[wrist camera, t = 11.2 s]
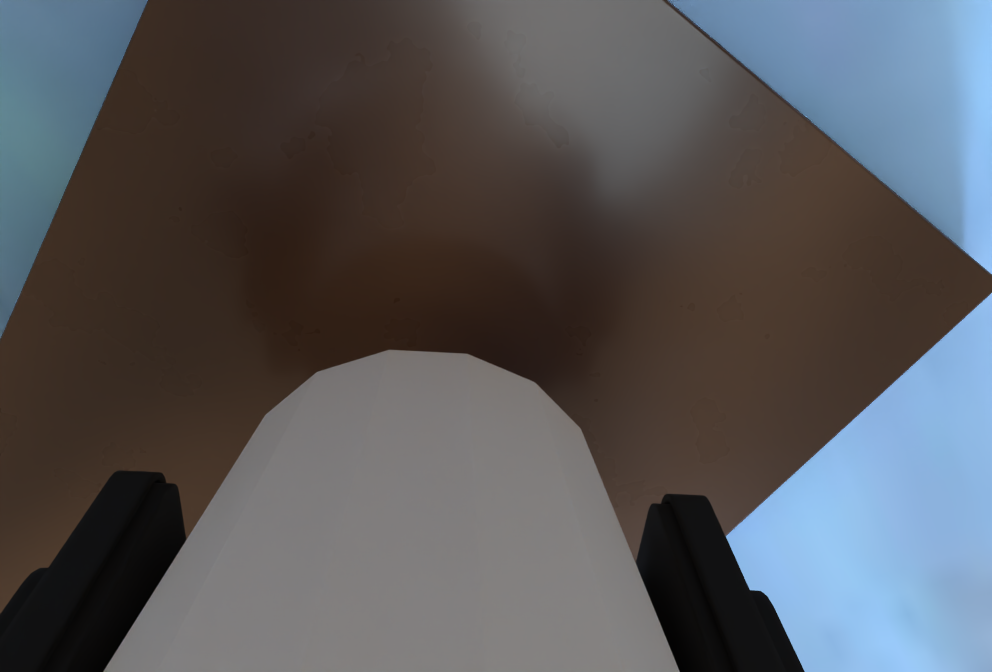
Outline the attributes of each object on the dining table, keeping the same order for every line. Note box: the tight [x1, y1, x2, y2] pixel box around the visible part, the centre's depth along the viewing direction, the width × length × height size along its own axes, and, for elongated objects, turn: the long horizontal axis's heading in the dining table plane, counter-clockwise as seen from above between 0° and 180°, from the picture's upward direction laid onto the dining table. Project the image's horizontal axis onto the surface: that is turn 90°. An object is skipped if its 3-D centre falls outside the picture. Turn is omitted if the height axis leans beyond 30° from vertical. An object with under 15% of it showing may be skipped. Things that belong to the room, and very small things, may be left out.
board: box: [0, 0, 992, 614], centre depth 15 cm, size 14×20×1 cm
